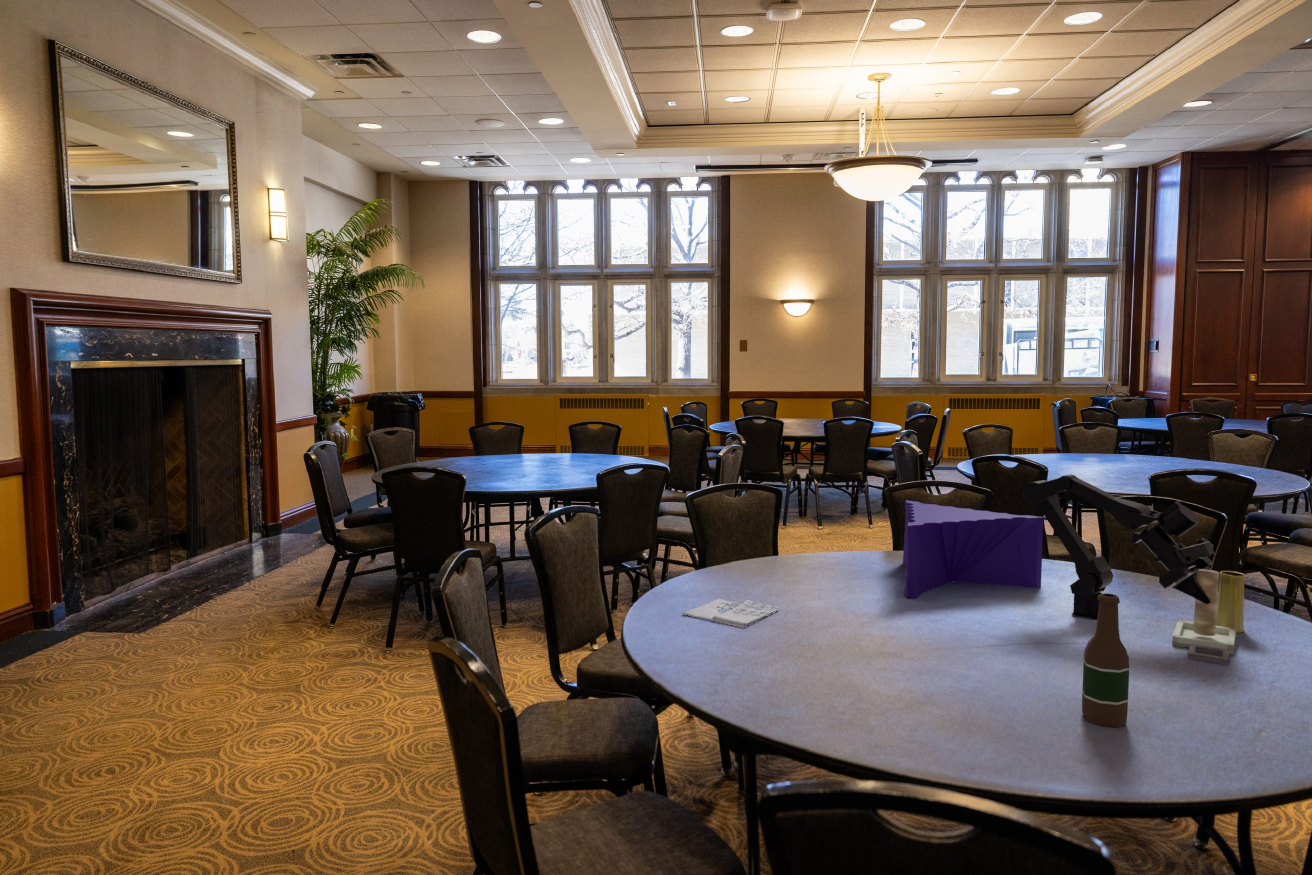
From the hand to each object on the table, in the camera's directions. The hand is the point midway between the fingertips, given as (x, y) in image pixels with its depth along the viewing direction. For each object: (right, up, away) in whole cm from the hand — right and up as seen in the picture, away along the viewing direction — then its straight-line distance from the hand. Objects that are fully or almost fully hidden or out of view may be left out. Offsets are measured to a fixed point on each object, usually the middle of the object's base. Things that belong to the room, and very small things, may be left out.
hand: (1212, 601), depth 202 cm
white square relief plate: (-112, -9, +28) cm, 116 cm away
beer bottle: (-48, -14, -42) cm, 65 cm away
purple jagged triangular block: (-47, -6, +54) cm, 72 cm away
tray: (-1, -10, +2) cm, 10 cm away
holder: (-7, -11, -9) cm, 15 cm away
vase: (+11, -9, +11) cm, 18 cm away
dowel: (-1, -8, +2) cm, 8 cm away
